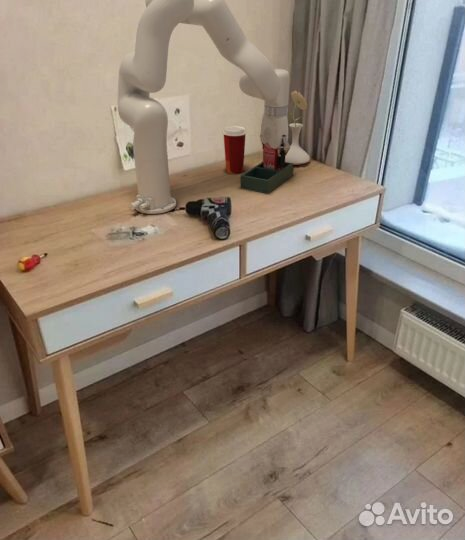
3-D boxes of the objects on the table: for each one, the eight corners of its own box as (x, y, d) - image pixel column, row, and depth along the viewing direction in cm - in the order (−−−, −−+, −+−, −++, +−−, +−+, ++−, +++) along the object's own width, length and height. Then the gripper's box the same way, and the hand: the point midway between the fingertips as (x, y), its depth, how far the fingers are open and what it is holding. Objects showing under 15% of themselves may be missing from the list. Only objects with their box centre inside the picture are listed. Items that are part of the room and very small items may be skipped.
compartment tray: (268, 193, 160) (268, 180, 158) (240, 188, 164) (240, 175, 162) (292, 175, 174) (293, 163, 172) (266, 170, 179) (267, 158, 176)
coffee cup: (250, 169, 180) (251, 127, 172) (238, 176, 174) (238, 133, 166) (230, 165, 183) (230, 124, 176) (218, 172, 177) (217, 129, 170)
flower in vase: (313, 166, 182) (318, 95, 169) (282, 168, 180) (285, 96, 168) (304, 155, 193) (308, 87, 180) (274, 157, 192) (277, 88, 179)
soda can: (282, 170, 175) (284, 136, 169) (284, 177, 169) (286, 142, 163) (262, 171, 175) (263, 136, 169) (263, 178, 169) (265, 142, 163)
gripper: (251, 106, 166) (250, 158, 175) (281, 117, 153) (279, 173, 162) (270, 104, 169) (268, 155, 178) (301, 114, 156) (298, 169, 165)
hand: (273, 163), depth 170 cm, fingers closed on soda can, 7 cm apart
